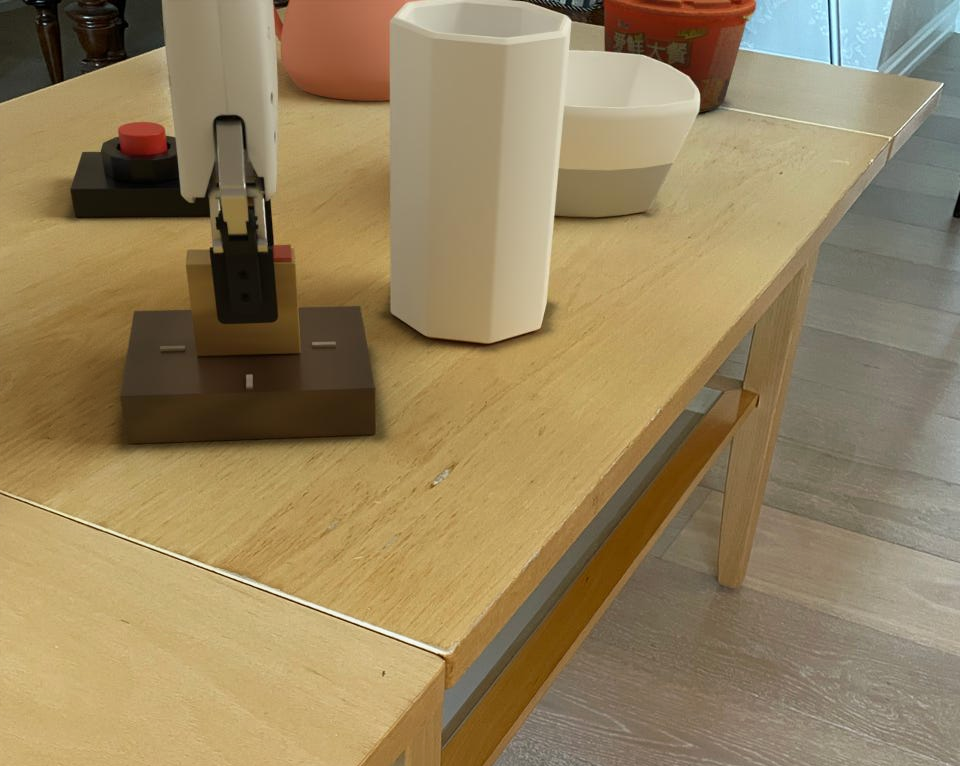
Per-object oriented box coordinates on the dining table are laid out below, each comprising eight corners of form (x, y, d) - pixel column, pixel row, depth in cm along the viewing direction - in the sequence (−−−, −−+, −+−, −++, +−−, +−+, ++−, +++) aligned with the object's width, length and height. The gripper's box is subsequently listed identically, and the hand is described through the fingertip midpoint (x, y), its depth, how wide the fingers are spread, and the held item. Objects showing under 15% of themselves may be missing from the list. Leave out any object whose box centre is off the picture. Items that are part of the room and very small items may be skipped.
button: (119, 159, 90) (115, 135, 89) (122, 144, 93) (119, 121, 92) (166, 158, 91) (163, 135, 90) (168, 144, 94) (165, 121, 93)
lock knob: (196, 356, 67) (185, 260, 63) (197, 339, 69) (186, 244, 65) (301, 353, 68) (295, 258, 64) (299, 337, 69) (294, 243, 66)
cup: (444, 265, 86) (452, -13, 74) (576, 303, 82) (607, 15, 70) (357, 317, 79) (351, 17, 67) (498, 361, 75) (517, 50, 63)
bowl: (457, 161, 105) (461, 48, 99) (643, 158, 108) (658, 48, 102) (500, 235, 92) (508, 110, 85) (710, 228, 95) (732, 107, 89)
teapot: (486, 67, 130) (492, -71, 121) (490, 111, 117) (497, -40, 109) (263, 57, 129) (253, -83, 120) (242, 99, 116) (230, -54, 107)
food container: (604, 70, 131) (616, -37, 124) (745, 88, 128) (764, -21, 122) (575, 108, 119) (586, -9, 113) (729, 128, 117) (750, 9, 110)
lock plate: (127, 444, 65) (119, 393, 63) (140, 355, 73) (133, 308, 71) (376, 434, 67) (375, 385, 65) (361, 349, 75) (360, 303, 73)
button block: (75, 217, 90) (65, 165, 88) (86, 178, 97) (78, 128, 94) (218, 216, 92) (213, 164, 89) (219, 177, 99) (215, 128, 96)
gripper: (144, -94, 61) (186, 229, 72) (118, -27, 48) (173, 355, 59) (288, -92, 62) (307, 227, 73) (301, -26, 49) (322, 350, 60)
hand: (248, 284), depth 66 cm, fingers open, 9 cm apart
